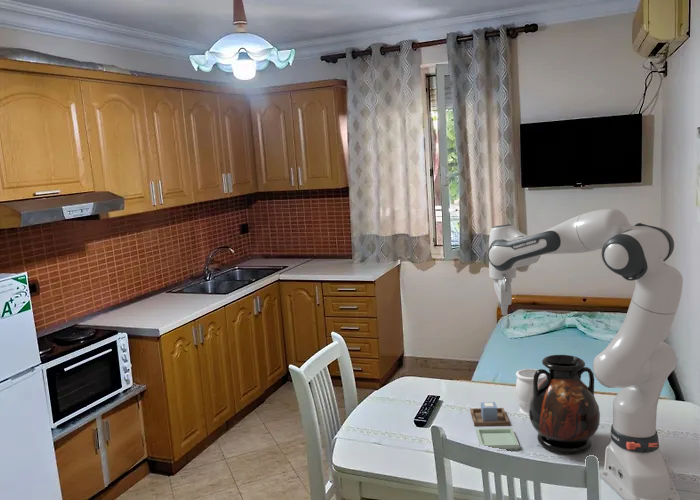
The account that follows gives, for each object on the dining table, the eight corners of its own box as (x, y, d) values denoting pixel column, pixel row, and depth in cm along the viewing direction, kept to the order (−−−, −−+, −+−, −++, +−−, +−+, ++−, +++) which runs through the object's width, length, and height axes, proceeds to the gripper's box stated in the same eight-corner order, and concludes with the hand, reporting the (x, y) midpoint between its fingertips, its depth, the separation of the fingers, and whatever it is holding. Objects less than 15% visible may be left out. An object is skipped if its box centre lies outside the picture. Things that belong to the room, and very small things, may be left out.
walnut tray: (509, 427, 202) (509, 422, 202) (474, 427, 203) (474, 422, 203) (503, 412, 214) (503, 407, 214) (470, 413, 215) (470, 408, 215)
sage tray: (519, 450, 186) (519, 444, 185) (481, 450, 187) (480, 445, 187) (512, 433, 198) (511, 428, 197) (476, 433, 199) (476, 428, 198)
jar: (543, 406, 217) (542, 368, 215) (549, 418, 207) (549, 378, 205) (514, 407, 218) (513, 368, 216) (519, 418, 208) (518, 378, 206)
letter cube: (497, 421, 206) (497, 407, 205) (483, 421, 206) (482, 407, 205) (495, 415, 211) (494, 401, 210) (481, 415, 211) (480, 401, 210)
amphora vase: (585, 427, 199) (584, 348, 195) (611, 458, 177) (612, 370, 173) (521, 430, 199) (520, 351, 195) (540, 461, 178) (539, 374, 174)
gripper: (516, 278, 187) (516, 319, 189) (508, 265, 207) (508, 303, 209) (496, 278, 188) (496, 319, 190) (490, 266, 208) (490, 303, 210)
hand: (502, 311), depth 200 cm, fingers open, 8 cm apart
